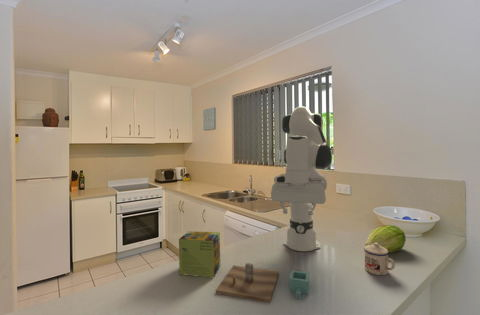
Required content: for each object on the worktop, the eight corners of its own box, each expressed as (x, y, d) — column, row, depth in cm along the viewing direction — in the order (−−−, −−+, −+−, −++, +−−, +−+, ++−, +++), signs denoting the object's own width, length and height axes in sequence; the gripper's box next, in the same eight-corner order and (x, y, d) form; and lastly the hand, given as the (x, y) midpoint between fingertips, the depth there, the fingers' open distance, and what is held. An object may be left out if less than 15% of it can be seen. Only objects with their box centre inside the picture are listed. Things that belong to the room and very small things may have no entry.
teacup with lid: (359, 268, 107) (359, 242, 107) (372, 263, 112) (372, 237, 112) (388, 281, 97) (388, 251, 97) (400, 275, 102) (400, 246, 101)
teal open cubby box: (291, 281, 98) (291, 270, 98) (309, 284, 96) (309, 272, 96) (288, 297, 88) (288, 284, 88) (307, 300, 86) (307, 287, 86)
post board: (233, 267, 110) (233, 251, 110) (279, 274, 104) (278, 257, 104) (215, 293, 91) (215, 274, 91) (270, 302, 85) (269, 282, 85)
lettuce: (352, 236, 129) (370, 229, 118) (382, 226, 137) (401, 218, 126) (365, 262, 124) (385, 257, 113) (396, 250, 132) (417, 244, 121)
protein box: (214, 278, 102) (213, 240, 101) (179, 275, 105) (178, 238, 104) (221, 266, 112) (220, 232, 112) (188, 263, 115) (187, 230, 114)
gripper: (326, 177, 95) (326, 214, 95) (272, 176, 101) (273, 210, 101) (326, 179, 89) (326, 218, 89) (269, 178, 95) (270, 214, 95)
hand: (297, 214), depth 95 cm, fingers open, 8 cm apart
